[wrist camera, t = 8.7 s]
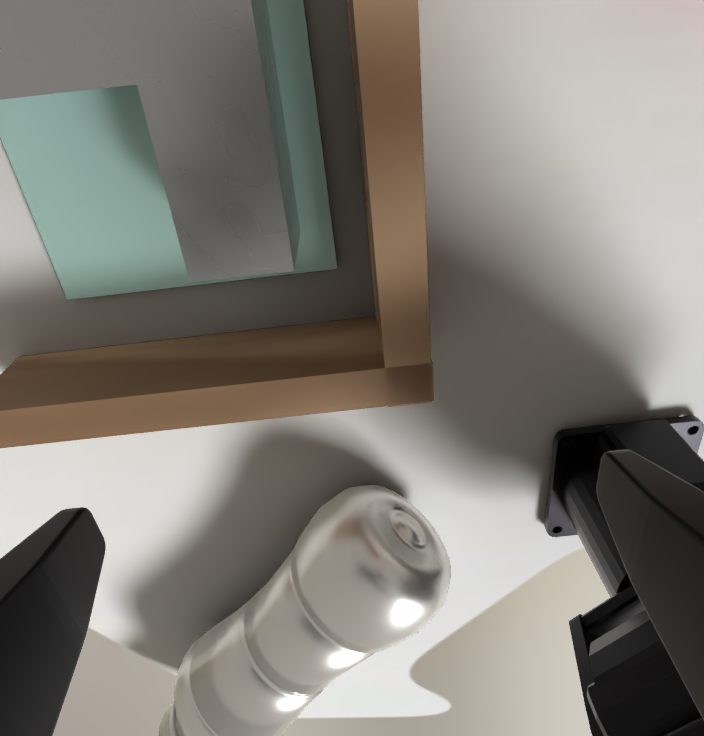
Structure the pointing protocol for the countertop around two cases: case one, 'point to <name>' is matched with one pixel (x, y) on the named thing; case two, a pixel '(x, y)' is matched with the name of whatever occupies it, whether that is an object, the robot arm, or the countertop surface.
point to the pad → (147, 177)
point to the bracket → (179, 111)
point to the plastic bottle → (314, 617)
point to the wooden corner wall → (281, 344)
